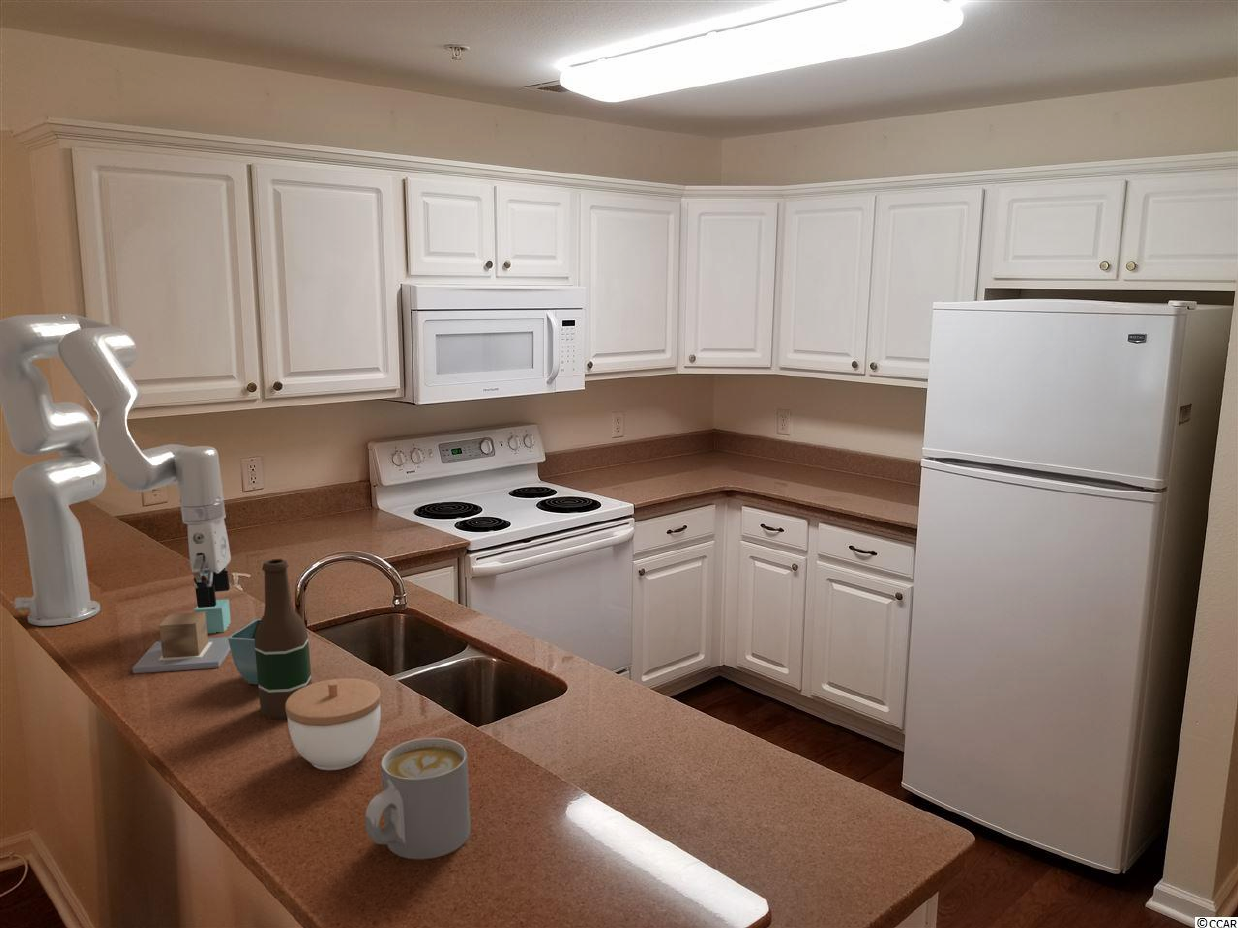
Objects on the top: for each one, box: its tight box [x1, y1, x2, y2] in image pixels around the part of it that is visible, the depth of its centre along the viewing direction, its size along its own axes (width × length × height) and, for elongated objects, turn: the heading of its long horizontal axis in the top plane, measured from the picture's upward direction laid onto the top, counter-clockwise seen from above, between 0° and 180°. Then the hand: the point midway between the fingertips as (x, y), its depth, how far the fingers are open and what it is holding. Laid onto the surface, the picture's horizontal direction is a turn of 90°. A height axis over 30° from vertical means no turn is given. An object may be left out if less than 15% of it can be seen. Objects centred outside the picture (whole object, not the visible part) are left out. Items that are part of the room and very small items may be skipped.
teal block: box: [193, 599, 232, 634], centre depth 179 cm, size 5×5×5 cm
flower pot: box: [227, 618, 262, 685], centre depth 155 cm, size 9×9×9 cm
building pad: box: [132, 636, 231, 674], centre depth 166 cm, size 14×12×1 cm
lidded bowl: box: [285, 677, 382, 771], centre depth 129 cm, size 13×13×11 cm
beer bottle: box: [255, 558, 313, 720], centre depth 143 cm, size 8×8×24 cm
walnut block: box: [158, 611, 209, 658], centre depth 165 cm, size 6×6×6 cm
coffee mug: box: [364, 737, 472, 860], centre depth 109 cm, size 13×10×10 cm
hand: (214, 598), depth 178 cm, fingers open, 9 cm apart
